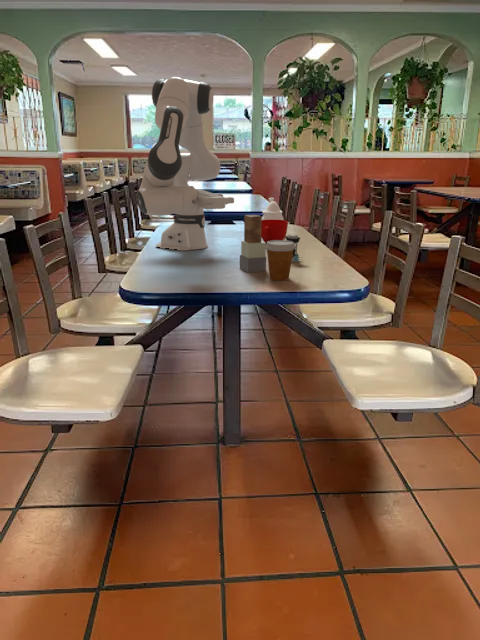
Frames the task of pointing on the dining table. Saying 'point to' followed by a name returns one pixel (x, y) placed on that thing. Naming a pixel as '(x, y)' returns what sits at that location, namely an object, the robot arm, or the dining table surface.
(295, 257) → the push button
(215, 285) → the dining table surface
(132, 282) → the dining table surface
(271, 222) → the ceramic cup
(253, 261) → the tower base block
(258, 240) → the walnut post
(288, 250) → the disposable coffee cup
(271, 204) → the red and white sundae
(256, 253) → the tower top block
